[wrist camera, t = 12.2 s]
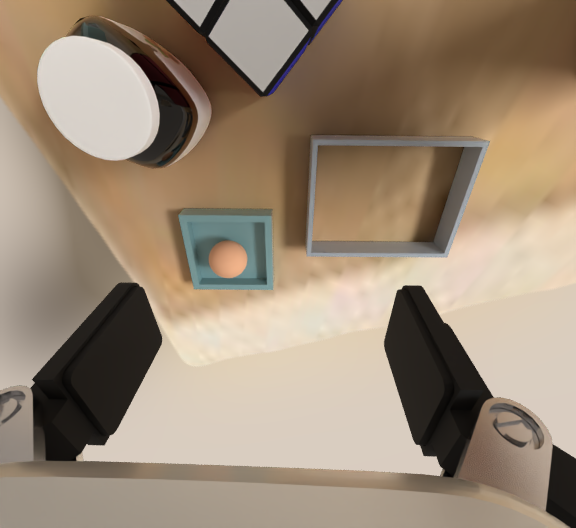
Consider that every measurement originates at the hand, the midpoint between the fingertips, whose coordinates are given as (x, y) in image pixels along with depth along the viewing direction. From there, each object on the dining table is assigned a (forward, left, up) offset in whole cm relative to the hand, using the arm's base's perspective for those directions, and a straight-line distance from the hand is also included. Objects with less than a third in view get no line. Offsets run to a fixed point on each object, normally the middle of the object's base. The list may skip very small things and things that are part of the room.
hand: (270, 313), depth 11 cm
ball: (+6, +11, -23) cm, 26 cm away
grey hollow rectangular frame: (-12, +4, -24) cm, 27 cm away
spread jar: (+13, -5, -24) cm, 28 cm away
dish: (+6, +11, -24) cm, 27 cm away
